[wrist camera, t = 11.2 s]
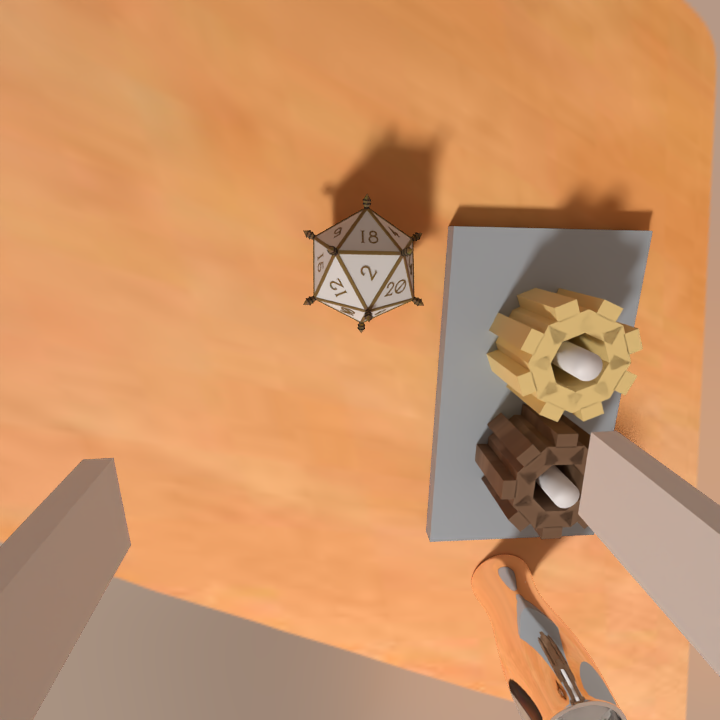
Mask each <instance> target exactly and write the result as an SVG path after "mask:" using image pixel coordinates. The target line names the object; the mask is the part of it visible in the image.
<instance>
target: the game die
mask: <svg viewBox="0 0 720 720" xmlns="http://www.w3.org/2000/svg"><path fill="white" fill-rule="evenodd" d="M363 201H364V203H363V204H364V208H363V209H362V210H360V211H358V212H356V213H355V214H353V215H351V216H349V217H348V218H346V219H344V220H342V221H341V222H339V223H337V224H335V225H334V226H332V227H330V228H328V229H326V230H325V231H323V232H321V233H319V234H318V235H314V234H313V232H311V230H309V231H304V233H305V235H306V238H307V237H308V238H309V239H313V280H314V295H313V296H312V297H309V298H306V301H305V302H304V304H303V305H311V304H312V303H313V302H314V301H315V300H317V301H319V302H321V303H323V304H325V305H327V306H329V307H331V308H333V309H335V310H337V311H339V312H341V313H343V314H344V315H346V316H348V317H350V318H352V319H354V320H356V321H358V322H359V324H358V329H359V331H360V332H361V333H362V331H363V330H364V329H365V327H364V326H365V325H364V322H366V321H368V322H369V321H370V320H371V319H372V318H375V317H377V316H379V315H381V314H383V313H386V312H388V311H390V310H392V309H395V308H397V307H399V306H401V305H403V304H406V303H408V302H410V301H413V302H414V304H416V305H417V306H424V304H423V302H422V299H419V298H416V297H414V259H413V241H417V240H419V239H420V237H421V235H422V233H415V234H413V236H412V237H409V236H408V235H406V234H405V233H404V232H402V231H401V230H399V229H398V228H396V227H395V226H394V225H392V224H391V223H389V222H388V221H387V220H385V219H384V218H382V217H381V216H379V215H378V214H377V213H375V212H374V211H372V210H371V209H370V208H369V206H370V204H371V203H370V201H371V199H370V198H369V196H368V194H367V195H366V196H365V198H364V199H363Z"/></svg>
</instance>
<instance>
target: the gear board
mask: <svg viewBox="0 0 720 720" xmlns="http://www.w3.org/2000/svg"><path fill="white" fill-rule="evenodd" d="M651 237H652V231H633V230H591V229H549V228H506V227H464V226H449V227H448V240H447V254H446V268H445V281H444V295H443V309H442V322H441V336H440V350H439V363H438V377H437V391H436V404H435V418H434V432H433V445H432V459H431V473H430V486H429V500H428V514H427V527H426V532H427V535H428V538H429V540H430V542H435V541H458V540H482V539H505V538H528V537H540V536H539V535H538V533H537V532H536V531H535V529H534V528H533V527H532V525H531V524H529V525H528V526H527V527H526V528H525V529H523V530H522V531H521V532H520V531H519V530H518V529H517V528H516V527H515V526H514V525H513V524H512V523H511V522H510V521H509V520H508V519H507V517H506V516H505V514H504V513H503V511H502V510H501V508H500V507H499V505H498V504H497V502H496V501H495V499H494V498H493V496H492V495H491V493H490V491H489V490H488V488H487V487H486V485H485V484H484V482H483V481H482V479H481V478H482V477H484V476H485V475H484V473H483V472H482V470H481V469H480V468H479V466H478V465H477V463H476V462H475V454H476V444H488V437H489V436H490V435H491V434H492V433H494V432H493V431H492V430H491V429H490V428H489V427H488V425H487V424H488V423H489V422H491V421H492V420H493V419H494V418H495V417H496V416H497V415H499V414H500V413H502V414H503V415H504V416H505V417H506V418H507V419H510V418H511V417H512V416H513V415H521V411H522V404H526V403H525V402H524V401H523V400H521V399H520V398H519V397H518V396H517V395H515V394H514V393H513V392H512V391H511V390H510V389H508V388H507V387H506V386H507V383H506V382H505V381H503V380H502V379H501V378H500V377H499V376H497V375H496V374H495V373H494V372H492V370H491V367H490V364H489V361H488V357H487V353H490V352H492V351H495V350H497V349H498V348H497V345H496V340H497V339H498V337H499V336H497V335H496V334H494V333H492V332H491V331H489V329H490V327H491V325H492V323H493V321H494V319H495V317H496V315H497V313H501V314H503V315H505V316H507V317H509V316H510V314H511V312H512V310H513V309H516V308H518V307H520V305H519V301H518V298H517V295H519V294H521V293H524V292H526V291H529V290H531V289H534V288H538V289H542V290H546V291H549V292H553V293H557V291H558V289H559V288H561V289H565V290H569V291H573V292H577V293H581V294H585V295H589V296H593V297H597V298H601V299H605V300H607V301H609V302H611V303H613V304H615V305H617V306H619V307H621V308H623V310H622V312H621V314H620V315H619V317H618V319H617V321H616V322H619V323H623V324H626V325H629V326H632V327H634V324H635V319H636V314H637V309H638V304H639V299H640V293H641V288H642V283H643V278H644V273H645V268H646V262H647V257H648V252H649V247H650V242H651ZM551 363H552V364H554V365H556V366H557V367H559V368H561V369H562V370H564V371H566V372H568V373H569V374H571V375H573V376H574V377H576V378H578V379H580V380H582V381H590V380H593V379H594V378H596V377H597V376H598V375H599V374H600V372H601V370H602V366H603V363H602V360H601V358H600V357H599V356H598V355H597V354H595V353H593V352H590V351H588V350H586V349H584V348H582V347H579V346H577V345H575V344H573V343H571V342H569V341H563V342H562V344H561V345H560V347H559V349H558V351H557V353H556V354H555V356H554V358H553V360H552V362H551ZM620 397H621V393H619V392H617V391H614V392H613V394H612V395H611V397H610V398H609V399H607V400H604V401H602V402H601V403H602V407H603V411H604V414H601V415H599V416H596V417H594V418H591V419H589V420H586V421H584V422H583V421H582V420H581V419H579V418H578V417H576V416H575V415H574V414H572V413H570V412H568V411H566V410H564V412H563V415H565V416H566V417H567V418H569V419H570V420H571V421H572V422H574V423H575V424H576V425H578V426H579V427H580V428H582V429H583V430H584V431H586V432H587V433H588V434H590V435H591V432H604V431H614V428H615V423H616V417H617V412H618V407H619V402H620ZM536 482H537V484H538V485H539V486H540V487H541V488H542V489H543V490H544V492H545V493H546V494H547V495H548V496H549V497H550V499H551V500H552V501H553V502H554V503H555V504H556V505H557V506H558V507H560V508H568V507H571V506H573V505H574V504H575V503H576V502H577V501H578V499H579V495H580V493H579V490H578V488H577V487H576V486H575V485H574V484H573V483H572V482H571V481H570V480H569V479H568V478H567V477H566V476H565V475H564V474H563V473H562V472H561V471H560V470H559V469H558V468H557V467H556V466H555V465H552V466H551V467H550V468H549V469H547V470H546V471H545V472H544V473H543V474H542V475H540V476H539V477H538V478H537V479H536ZM574 535H594V532H593V531H592V529H591V528H590V527H589V526H588V527H586V528H585V529H584V528H583V527H582V526H581V525H580V524H579V523H578V522H576V523H575V524H574V525H573V526H571V527H563V529H562V535H561V536H574Z"/></svg>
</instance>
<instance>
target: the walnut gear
mask: <svg viewBox="0 0 720 720" xmlns="http://www.w3.org/2000/svg"><path fill="white" fill-rule="evenodd" d="M487 425H488V427H489V428H490V429H491V430H492V431H493V432H494V433H492V434H491V435H490V436H489V437H488V444H476V454H475V462H476V463H477V465H478V466H479V468H480V469H481V470H482V472H483V473H484V475H485V476H484V477H482V478H481V479H482V481H483V482H484V484H485V485H486V487H487V488H488V490H489V491H490V493H491V495H492V496H493V498H494V499H495V501H496V502H497V504H498V505H499V507H500V508H501V510H502V511H503V513H504V514H505V516H506V517H507V519H508V520H509V521H510V522H511V523H512V524H513V525H514V526H515V527H516V528H517V529H518V530H519V531H520V532H521V531H522V530H523V529H525V528H526V527H527V526H528V525H529V524H531V525H532V527H533V528H534V529H535V531H536V532H537V533H538V535H539V536H540V538H541V539H555V538H561V535H562V529H563V527H571V526H573V525H574V524H575V523H576V522H578V523H579V524H580V525H581V526H582V527H583V528H584V529H585V528H586V527H588V525H587V524H586V523H585V521H584V520H583V519H582V518H581V517H580V516H579V514H578V511H579V505H580V499H581V493H582V486H583V480H584V474H585V467H586V461H587V455H588V449H589V442H590V436H591V435H590V434H588V433H587V432H586V431H584V430H583V429H582V428H580V427H579V426H578V425H576V424H575V423H574V422H572V421H571V420H570V419H569V418H567V417H566V416H565V415H563V414H562V416H561V417H560V419H559V421H558V422H556V421H554V420H551V419H549V418H547V417H544V416H542V415H539V414H538V413H537V412H536V411H534V410H533V409H532V408H531V407H530V406H529V405H527V404H522V411H521V415H513V416H512V417H511V418H510V419H507V418H506V417H505V416H504V415H503V414H502V413H500V414H499V415H497V416H496V417H495V418H494V419H493V420H492V421H491V422H489V423H488V424H487ZM552 465H555V466H556V467H557V468H558V469H559V470H560V471H561V472H562V473H563V474H564V475H565V476H566V477H567V478H568V479H569V480H570V481H571V482H572V483H573V484H574V485H575V486H576V487H577V488H578V490H579V493H580V495H579V499H578V501H577V502H576V503H575V504H574V505H573V506H571V507H568V508H560V507H558V506H557V505H556V504H555V503H554V502H553V501H552V500H551V499H550V497H549V496H548V495H547V494H546V493H545V492H544V490H543V489H542V488H541V487H540V486H539V485H538V484H537V482H536V479H537V478H538V477H539V476H540V475H542V474H543V473H544V472H545V471H546V470H547V469H549V468H550V467H551V466H552Z"/></svg>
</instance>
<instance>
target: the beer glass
mask: <svg viewBox="0 0 720 720" xmlns="http://www.w3.org/2000/svg"><path fill="white" fill-rule="evenodd" d="M471 585H472V590H473V593H474V595H475V597H476V598H477V600H478V601H479V602H480V604H481V605H482V607H483V608H484V610H485V611H486V613H487V615H488V617H489V619H490V622H491V625H492V629H493V632H494V637H495V641H496V645H497V650H498V654H499V658H500V662H501V666H502V669H503V673H504V676H505V680H506V682H507V685H508V688H509V690H510V693H511V696H512V698H513V700H514V703H515V705H516V707H517V709H518V711H519V714H520V716H521V718H522V720H627V719H626V717H625V715H624V713H623V712H622V711H621V709H620V707H619V705H618V704H617V702H616V700H615V698H614V696H613V694H612V692H611V690H610V688H609V687H608V685H607V683H606V681H605V679H604V678H603V676H602V674H601V672H600V671H599V669H598V667H597V666H596V664H595V662H594V661H593V659H592V658H591V656H590V655H589V653H588V652H587V650H586V649H585V647H584V646H583V644H582V643H581V642H580V641H579V639H578V638H577V637H576V636H575V634H574V633H573V632H572V631H571V630H570V628H569V627H568V626H567V625H566V624H565V623H564V622H563V621H562V619H561V618H560V617H559V616H558V615H557V614H556V613H555V612H554V611H553V609H552V608H551V607H550V606H549V605H548V604H547V603H546V601H545V600H544V599H543V597H542V596H541V595H540V593H539V591H538V590H537V588H536V585H535V583H534V580H533V577H532V574H531V572H530V569H529V567H528V566H527V564H526V563H525V562H524V561H523V560H522V559H520V558H519V557H517V556H514V555H508V554H503V555H497V556H493V557H491V558H489V559H487V560H485V561H484V562H483V563H481V564H480V565H479V566H478V568H477V569H476V570H475V572H474V574H473V576H472V581H471Z"/></svg>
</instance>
